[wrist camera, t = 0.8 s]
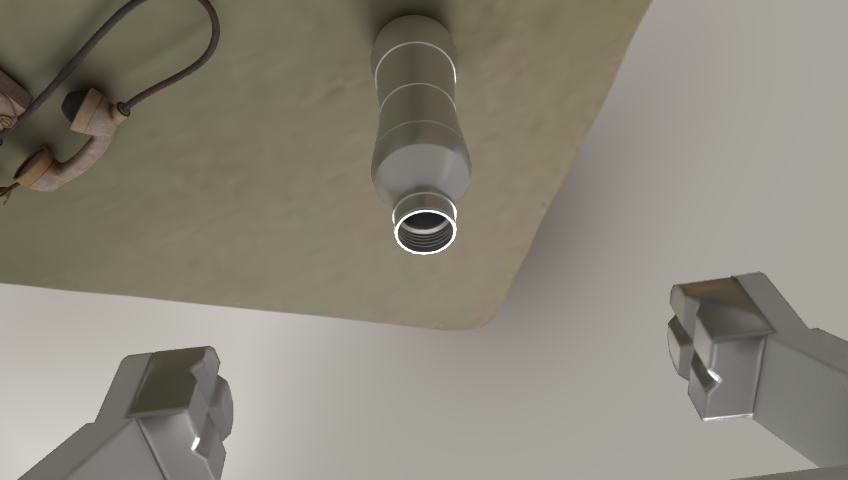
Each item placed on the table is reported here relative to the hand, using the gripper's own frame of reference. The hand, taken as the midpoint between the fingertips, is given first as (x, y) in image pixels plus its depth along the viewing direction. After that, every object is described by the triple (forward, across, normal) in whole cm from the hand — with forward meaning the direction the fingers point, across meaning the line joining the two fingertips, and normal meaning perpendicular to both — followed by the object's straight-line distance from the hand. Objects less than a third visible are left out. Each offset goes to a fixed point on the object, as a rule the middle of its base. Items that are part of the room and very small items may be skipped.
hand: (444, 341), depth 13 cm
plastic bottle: (+45, 0, +9) cm, 46 cm away
